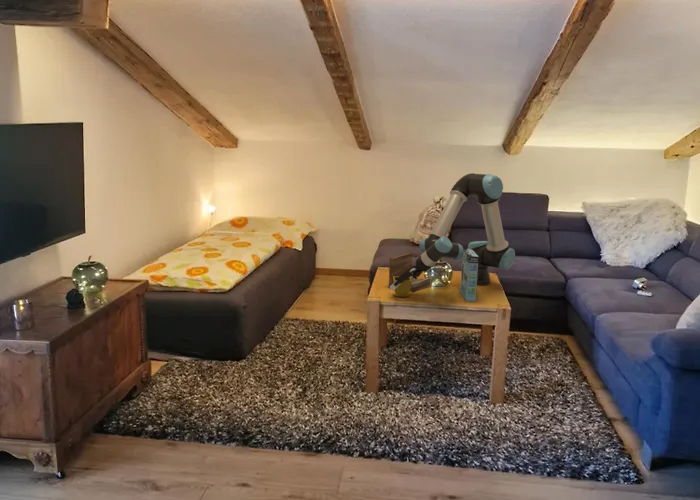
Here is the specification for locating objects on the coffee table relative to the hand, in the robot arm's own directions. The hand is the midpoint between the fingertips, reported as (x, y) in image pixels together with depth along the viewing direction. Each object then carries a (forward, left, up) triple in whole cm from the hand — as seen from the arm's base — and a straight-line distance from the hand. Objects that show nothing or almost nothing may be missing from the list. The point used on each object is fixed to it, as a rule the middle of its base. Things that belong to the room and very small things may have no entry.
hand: (398, 286), depth 310 cm
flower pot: (-2, 0, -5) cm, 5 cm away
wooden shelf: (+3, -20, -4) cm, 21 cm away
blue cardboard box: (-29, -21, -5) cm, 36 cm away
